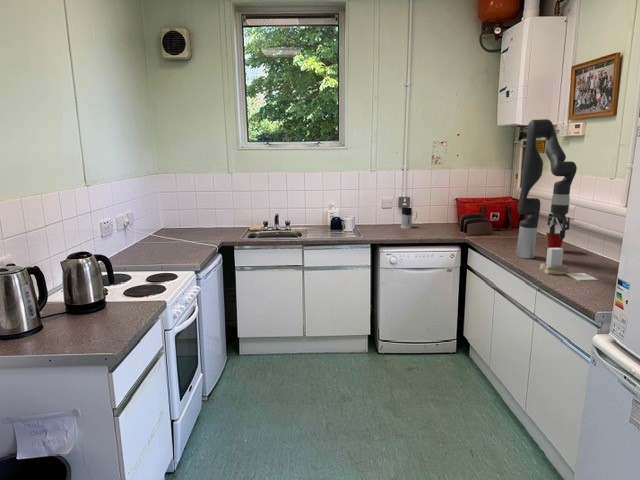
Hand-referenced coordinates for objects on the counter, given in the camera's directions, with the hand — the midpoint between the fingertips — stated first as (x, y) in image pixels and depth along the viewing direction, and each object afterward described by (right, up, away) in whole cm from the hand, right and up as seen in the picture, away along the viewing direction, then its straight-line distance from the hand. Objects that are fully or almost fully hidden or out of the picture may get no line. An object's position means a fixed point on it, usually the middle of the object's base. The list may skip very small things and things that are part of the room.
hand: (556, 236), depth 215 cm
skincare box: (0, -18, +4) cm, 18 cm away
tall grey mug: (-47, +7, +125) cm, 134 cm away
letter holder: (-4, +3, +102) cm, 102 cm away
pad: (+9, -20, -6) cm, 22 cm away
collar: (0, -18, +4) cm, 18 cm away
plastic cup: (+24, -8, +48) cm, 54 cm away
